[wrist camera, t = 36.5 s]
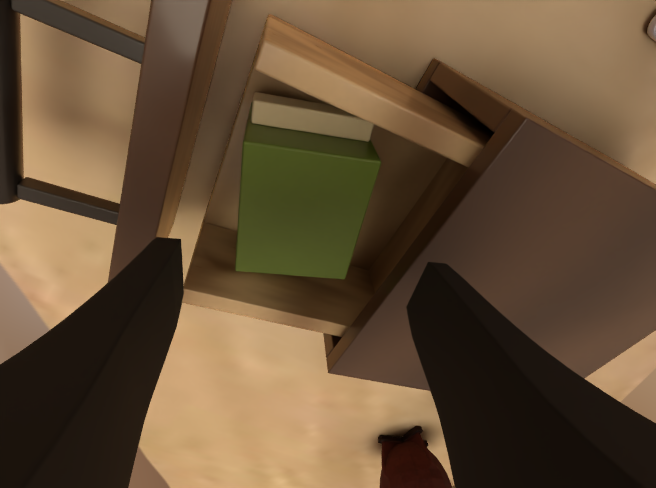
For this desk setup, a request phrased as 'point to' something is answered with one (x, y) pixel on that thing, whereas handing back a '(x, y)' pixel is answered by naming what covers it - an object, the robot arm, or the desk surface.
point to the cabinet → (522, 245)
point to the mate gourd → (410, 463)
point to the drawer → (222, 211)
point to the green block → (302, 187)
